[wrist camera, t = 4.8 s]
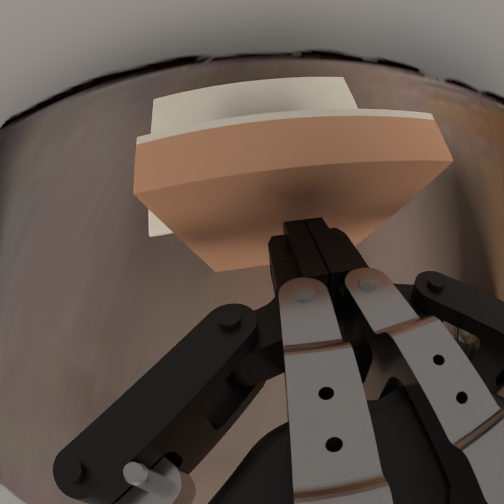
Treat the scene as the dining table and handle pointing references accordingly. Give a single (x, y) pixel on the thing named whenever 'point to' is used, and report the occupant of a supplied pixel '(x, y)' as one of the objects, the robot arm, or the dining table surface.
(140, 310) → the dining table surface
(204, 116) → the mat
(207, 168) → the tan flat block
